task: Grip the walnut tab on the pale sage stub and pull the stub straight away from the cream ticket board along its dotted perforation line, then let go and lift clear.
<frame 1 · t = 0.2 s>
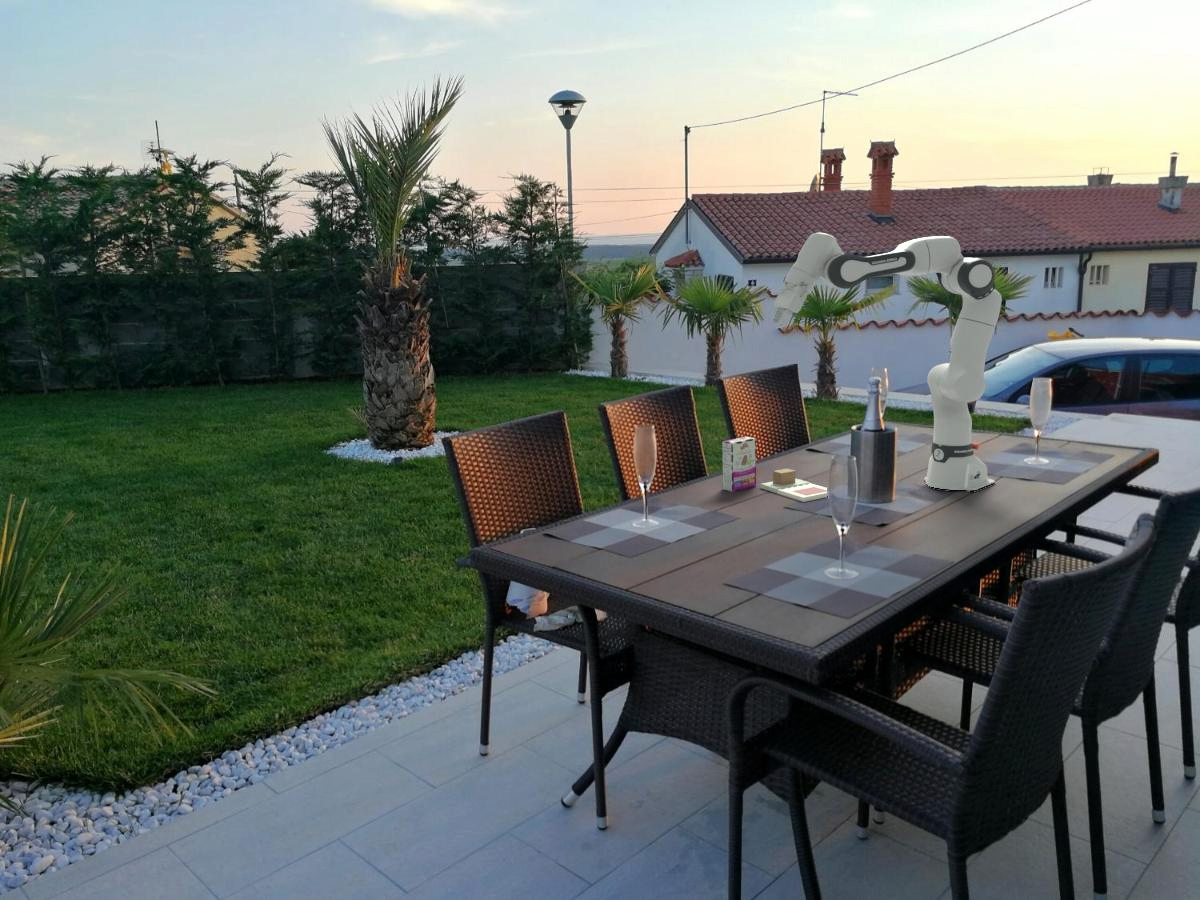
hand: (777, 323, 259), 54 cm above the table, tool tilted 30°, fingers open, 8 cm apart
stub: (785, 479, 273), point 3 cm above the table, slide at 0.0 cm
ticket board: (807, 494, 265), on the table
candy bar box: (739, 488, 276), on the table
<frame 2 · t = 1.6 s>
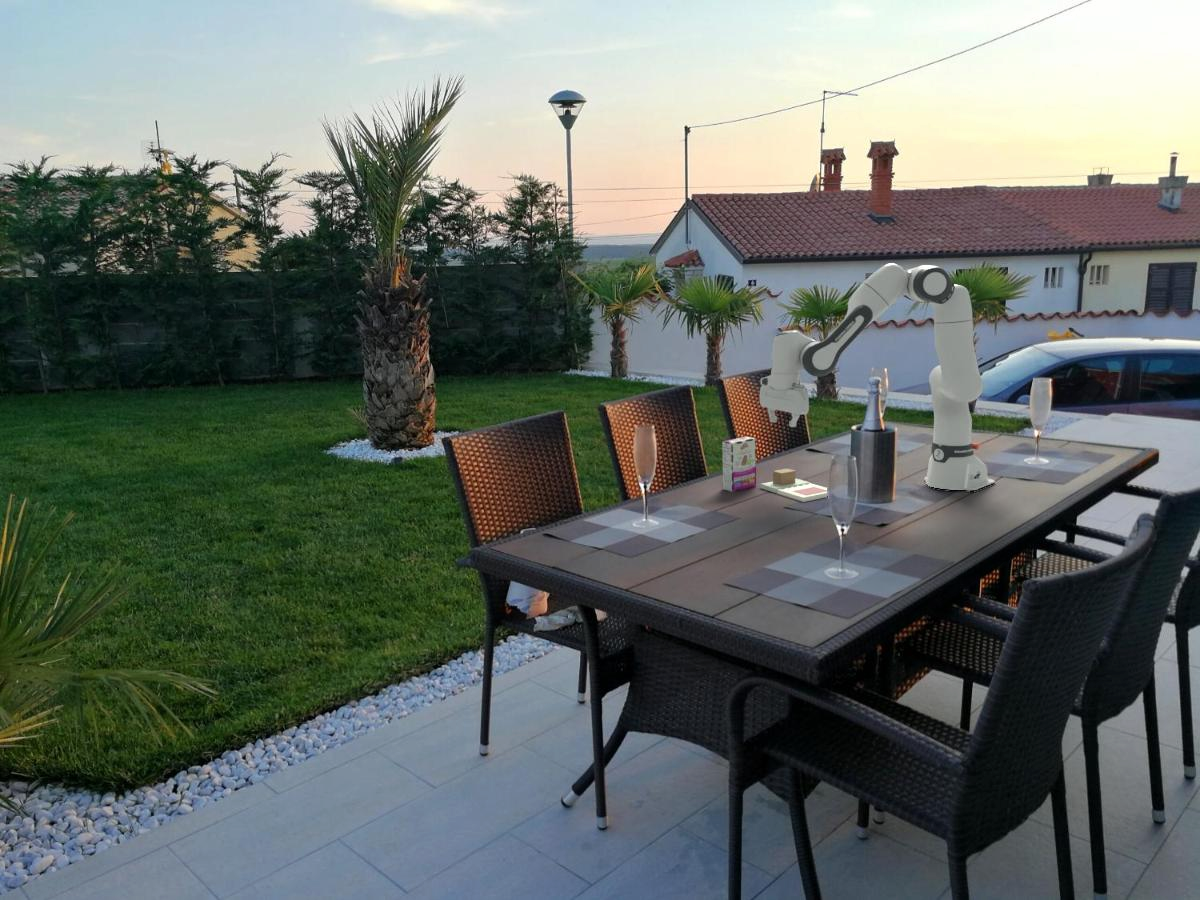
hand: (782, 424, 269), 21 cm above the table, tool pointing down, fingers open, 8 cm apart
nothing on the table moved.
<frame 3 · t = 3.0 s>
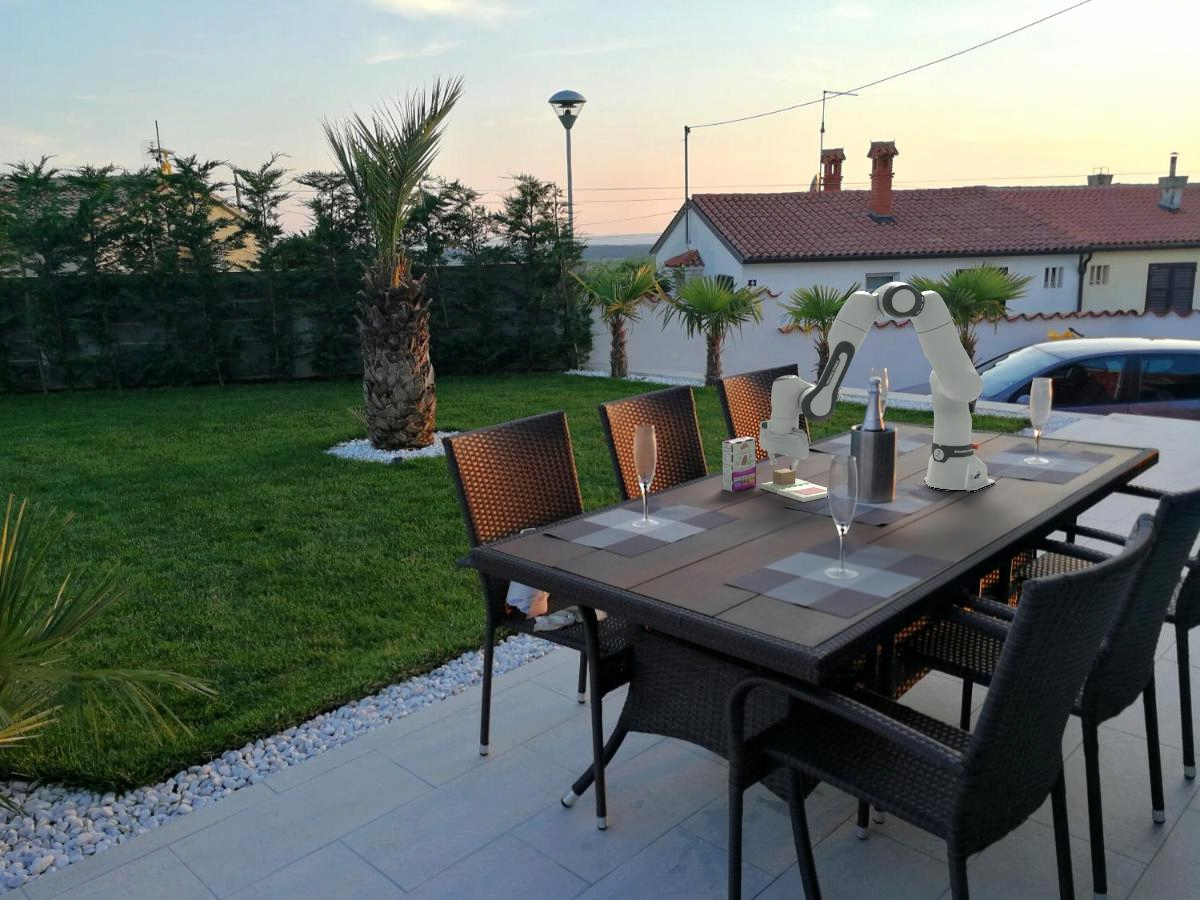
hand: (783, 467, 273), 7 cm above the table, tool pointing down, fingers open, 8 cm apart
nothing on the table moved.
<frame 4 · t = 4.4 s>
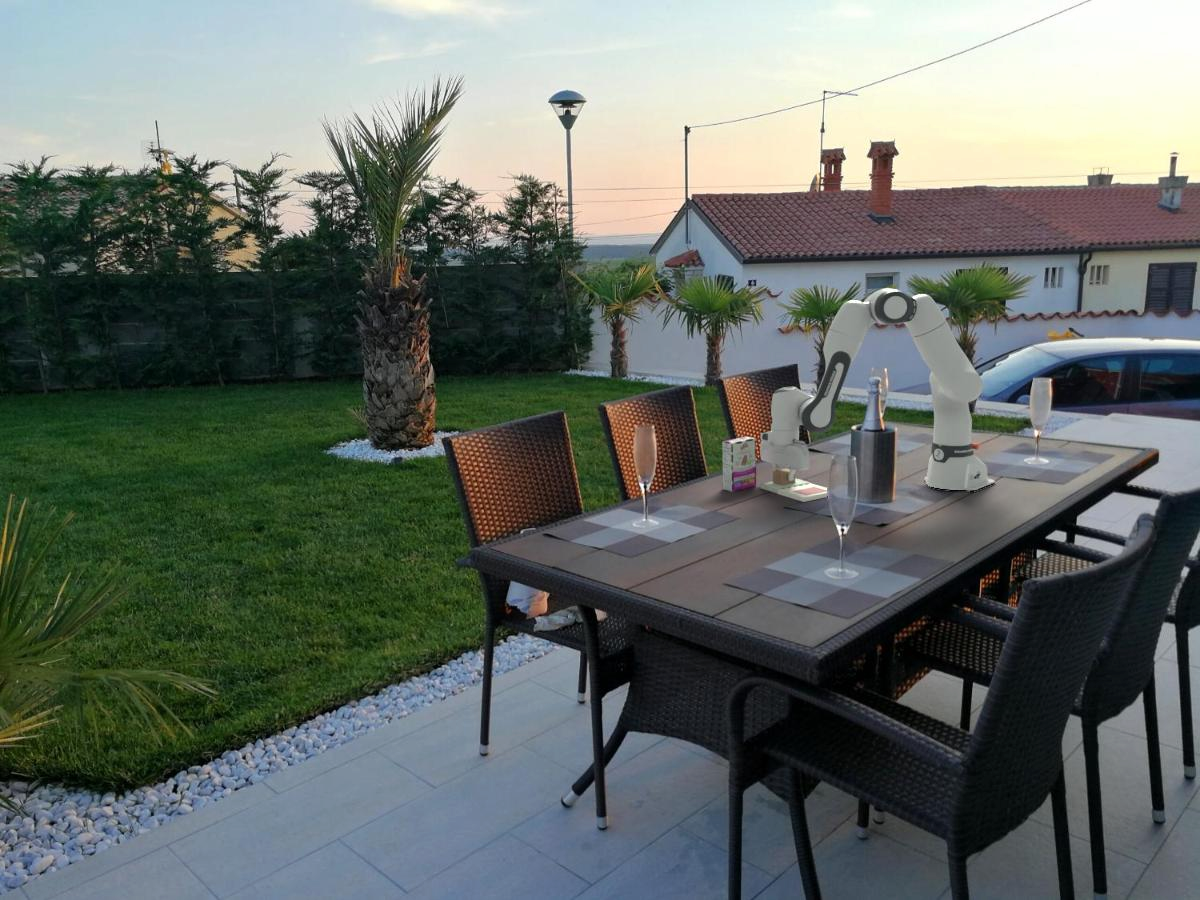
hand: (784, 478, 273), 3 cm above the table, tool pointing down, fingers closed on stub, 4 cm apart
stub: (785, 479, 273), point 3 cm above the table, slide at 0.0 cm, touching gripper
everything else where it was.
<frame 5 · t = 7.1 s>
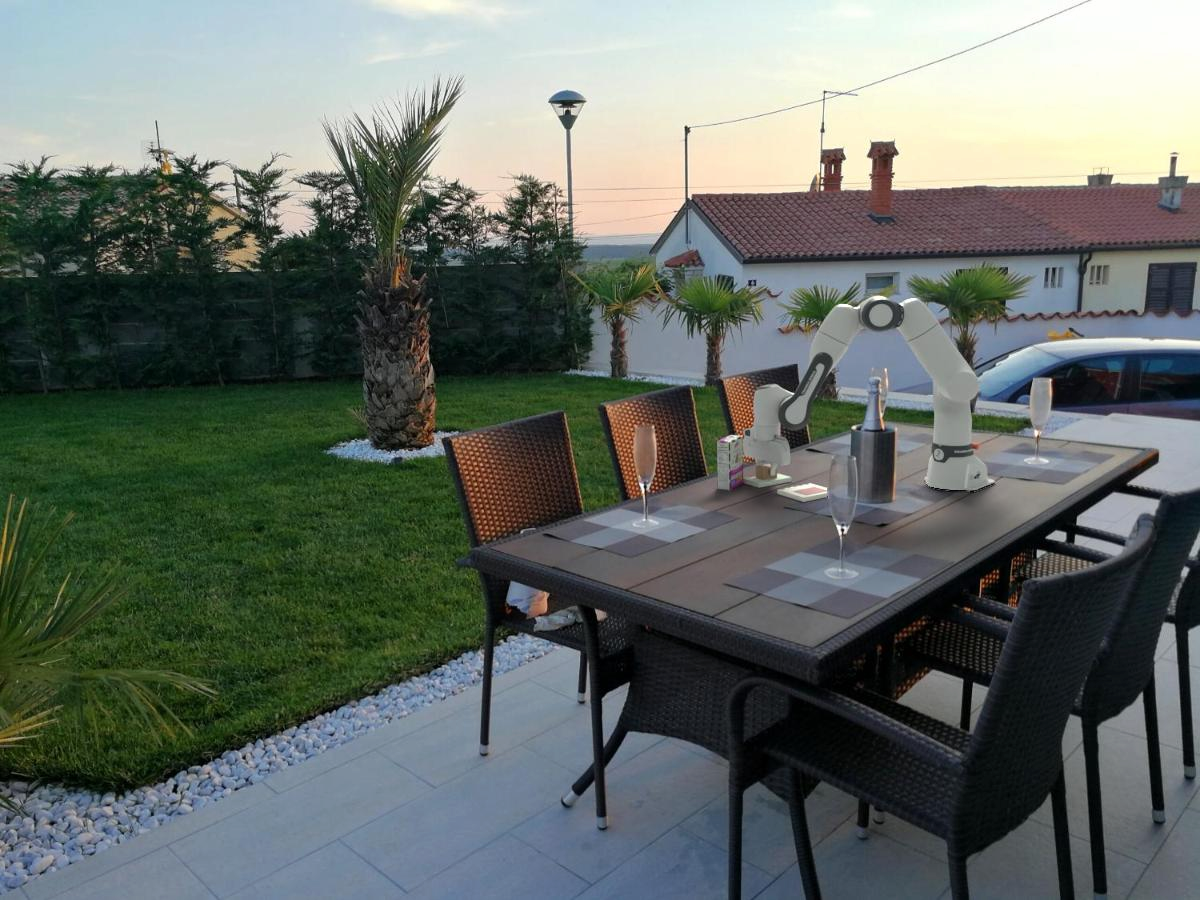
hand: (766, 473, 281), 3 cm above the table, tool pointing down, fingers closed on stub, 4 cm apart
stub: (767, 474, 281), point 3 cm above the table, slide at 8.8 cm, touching gripper
candy bar box: (730, 487, 278), on the table
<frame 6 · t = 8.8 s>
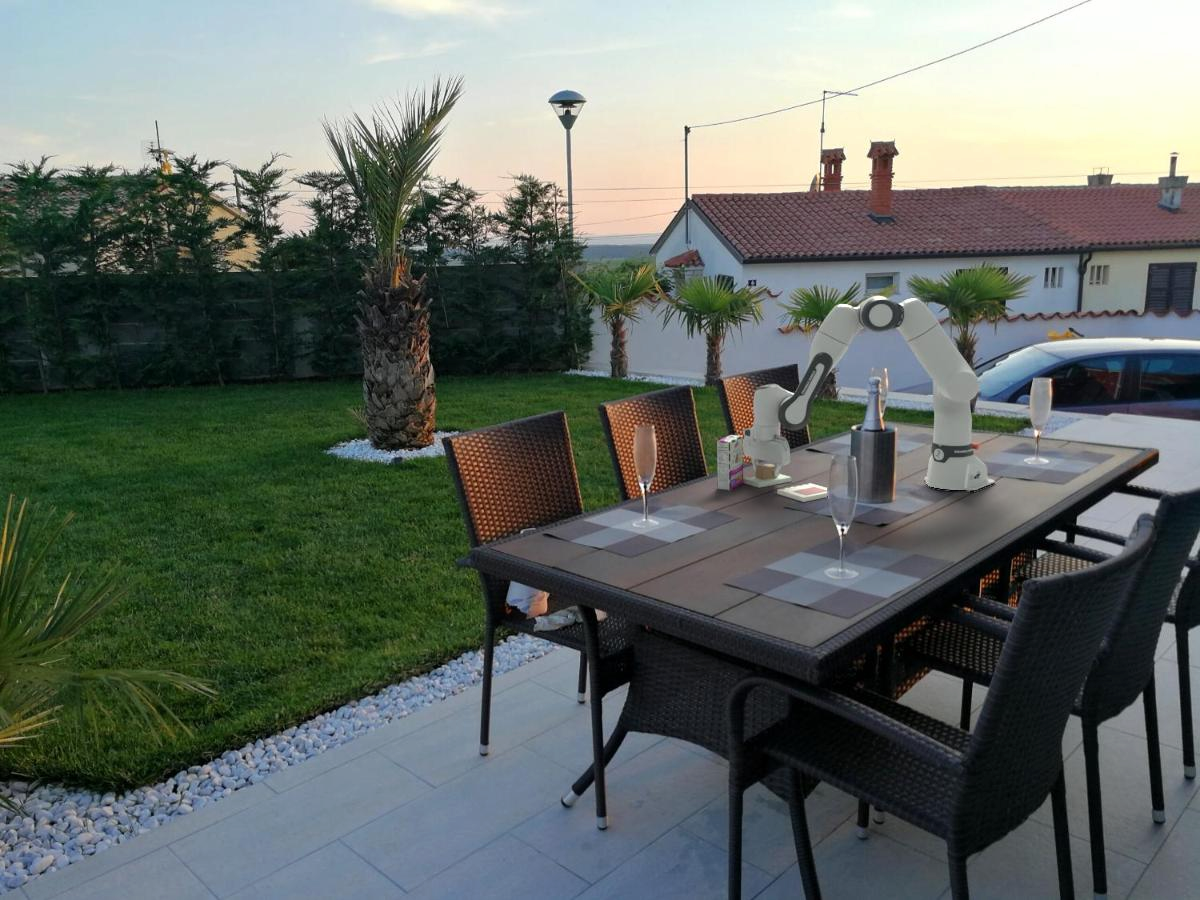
hand: (766, 473, 281), 3 cm above the table, tool pointing down, fingers open, 8 cm apart
stub: (767, 474, 281), point 3 cm above the table, slide at 8.9 cm
everything else where it was.
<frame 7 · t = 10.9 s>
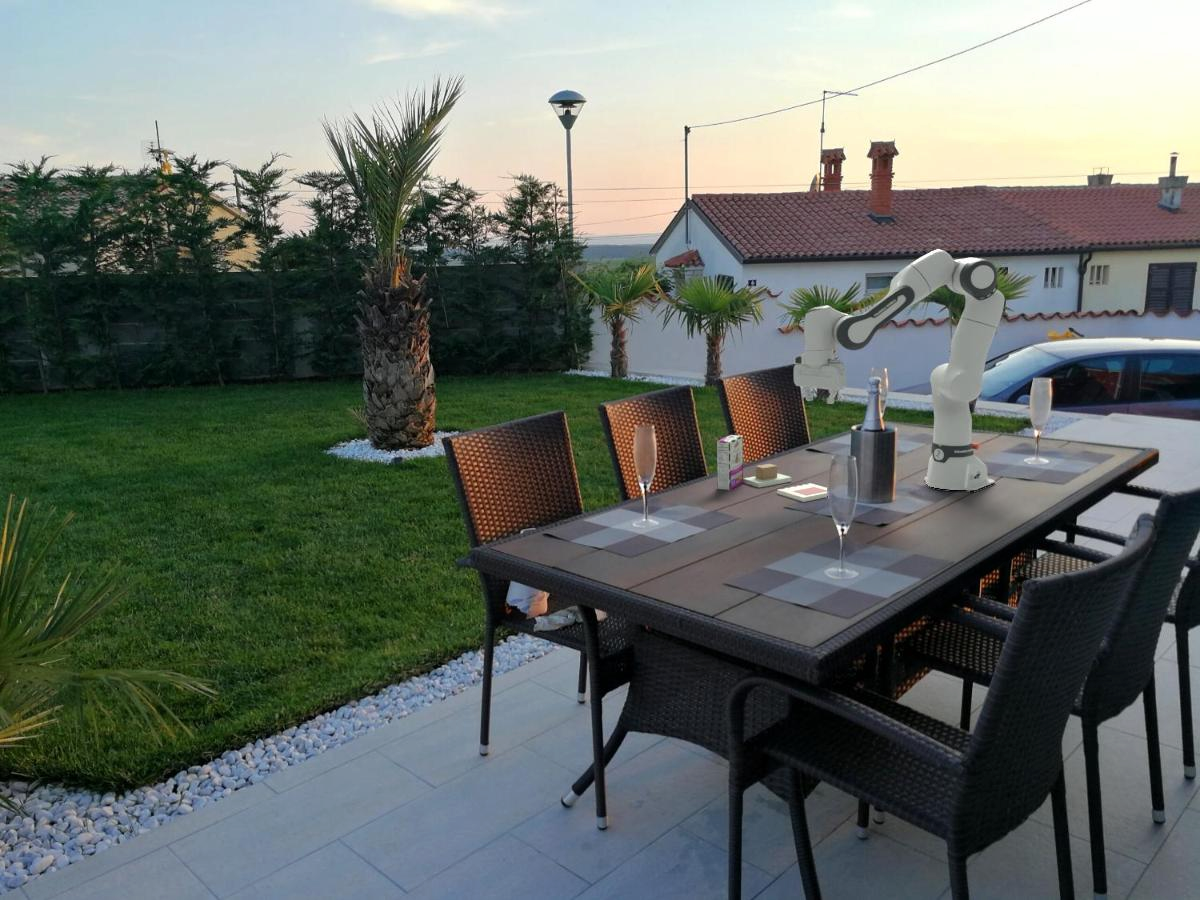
hand: (819, 402, 265), 28 cm above the table, tool pointing down, fingers open, 8 cm apart
nothing on the table moved.
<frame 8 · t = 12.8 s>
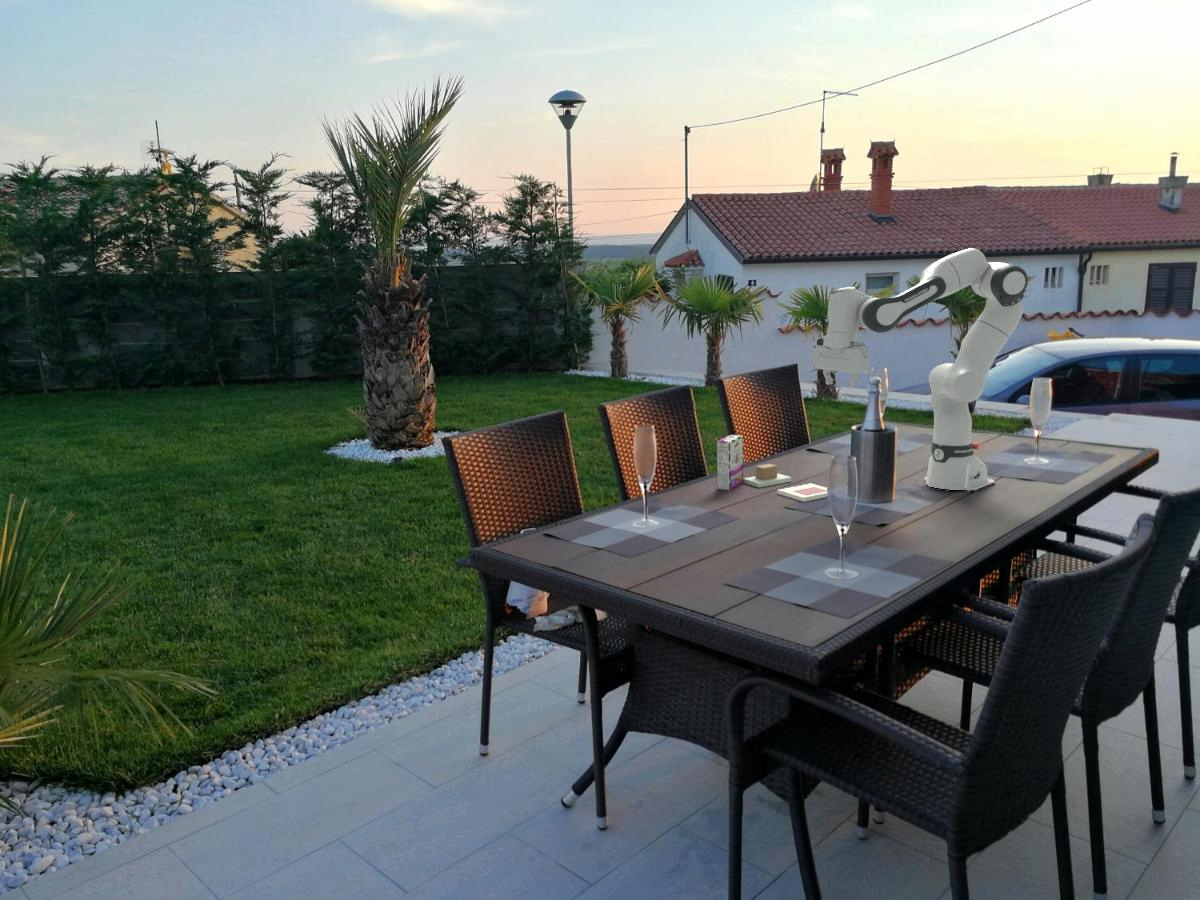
hand: (840, 385, 260), 34 cm above the table, tool pointing down, fingers open, 8 cm apart
nothing on the table moved.
at the end: stub slide at 8.9 cm; the gripper is holding nothing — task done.
